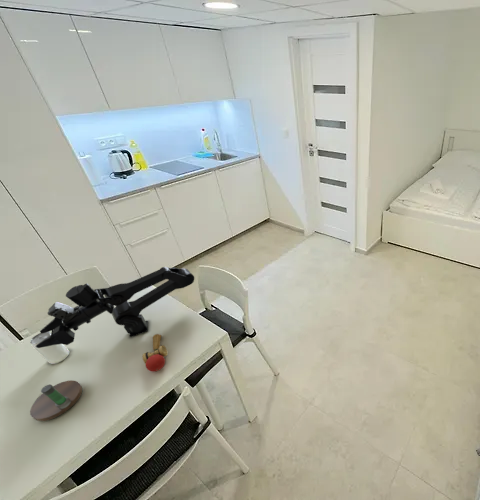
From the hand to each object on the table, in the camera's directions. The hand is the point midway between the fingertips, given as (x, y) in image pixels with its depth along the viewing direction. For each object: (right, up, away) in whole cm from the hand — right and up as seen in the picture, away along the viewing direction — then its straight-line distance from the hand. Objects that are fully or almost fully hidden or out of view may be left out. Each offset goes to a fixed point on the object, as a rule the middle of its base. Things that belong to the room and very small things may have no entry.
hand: (38, 339), depth 101 cm
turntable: (+11, -20, -4) cm, 23 cm away
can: (-5, -11, +12) cm, 17 cm away
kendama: (+34, -10, +12) cm, 38 cm away
